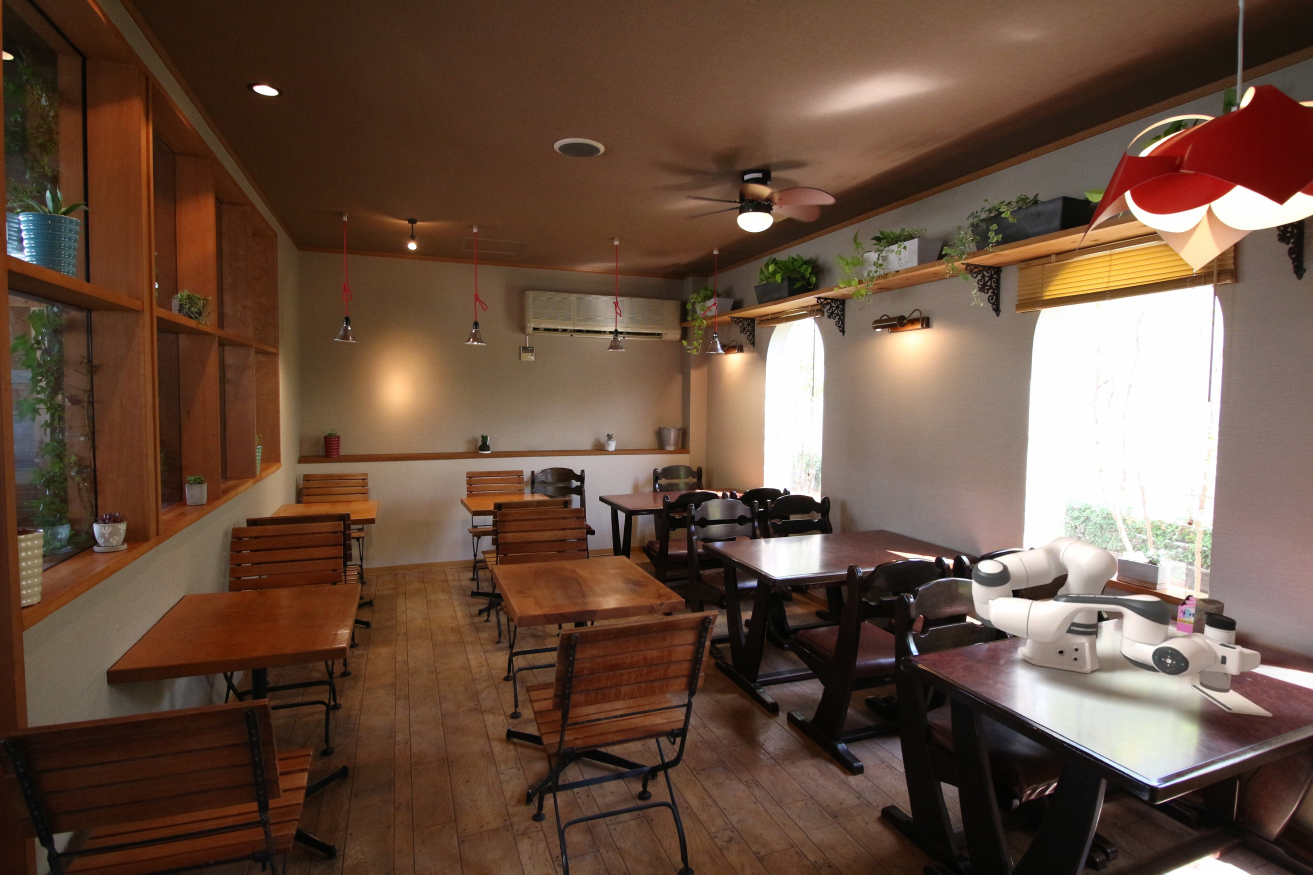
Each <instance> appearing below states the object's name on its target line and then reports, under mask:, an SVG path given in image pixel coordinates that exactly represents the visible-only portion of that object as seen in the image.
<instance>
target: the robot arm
mask: <svg viewBox="0 0 1313 875" xmlns="http://www.w3.org/2000/svg"><path fill="white" fill-rule="evenodd" d="M1116 559H1117V558H1115V556H1114V555H1113V554H1111V553H1110V552H1109V551H1108V550H1107V549H1105V548H1103V547H1101V546H1099V545H1096V544H1093V543H1090V542H1087V541H1084V540H1083V539H1079V538H1076V537H1073V536H1062V537H1061V536H1060V537H1056V538H1054V539H1053V540H1051V541H1050V543H1048V544H1044V545H1043V546H1040V547H1038V548H1037V547H1036V548H1034V549H1033V548H1032V549H1028V550H1023V551H1019V552H1014V553H1009V554H1005V555H1002V556H999V557H995V558H993V559H991V558H990V559H989V558H985V559H982V560H980V561H978V562H976V564H974V565H973V568H972V570H971V595H972V599H973V605H974V613H975V616H976V618H977V620H978V621H979V622H980V623H981V624H983V625H984V626H986V627H988V628H995V629H997V630H1000V631H1002V632H1006V633H1007V634H1008V633H1009V634H1011V635H1014V636H1017V637H1020V638H1023V639H1027V641H1026V644H1025V646H1020V647H1018V649H1017V653H1018V655H1019V656H1020V657H1021V658H1022V659H1023V660H1025V661H1026V662H1028V663H1030V664H1033V665H1035V666H1038V667H1039V666H1040V667H1045V668H1050V669H1051V668H1052V669H1058V670H1062V671H1064V670H1065V671H1071V672H1078V673H1084V674H1090V673H1091V672H1093V671H1097V670H1099V669H1100V663H1099V657H1098V651H1097V650H1098V649H1097V639H1098V635H1099V622H1098V613H1099V612H1100V611H1101V612H1117V613H1121V614H1122V628H1121V635H1120V646H1119V647H1120V650H1119V651H1120V653H1121V655H1122V656H1123V657H1124V659H1125V660H1126V661H1128V662H1129V663H1130V664H1131V665H1133V666H1134V667H1137V668H1139V669H1141V670H1145V671H1148V672H1152V673H1162V674H1165V675H1167V676H1171V677H1187V676H1191V675H1195V674H1197V673H1201V671H1203V670H1204V671H1216V672H1222V673H1227V674H1231V675H1233V676H1239V675H1240V674H1241V672H1250V671H1253V670H1255V669H1257V668H1259V667H1260V665H1261V658H1262V657H1261V653H1260V652H1259V651H1256V650H1252V649H1248V648H1246V647H1242V646H1241V645H1238V644H1235V643H1234V645H1230V644H1227V643H1223V642H1219V641H1217V640H1214V639H1212V638H1210V637H1208V636H1206V635H1204V634H1201V633H1186V632H1182V631H1178V630H1176V629H1174V628H1169V626H1170V624H1171V621H1172V620H1171V619H1172V614H1173V612H1172V610H1171V608H1170V607H1169V605H1168V604H1167V603H1166V602H1165V601H1164V600H1163V599H1162V598H1161V597H1157V596H1154V595H1152V594H1151V595H1150V594H1127V595H1124V594H1123V595H1122V594H1121V595H1120V594H1117V595H1116V594H1102V591H1103V589H1104V587H1105V586H1106V584H1107V582H1108V581H1110V580H1112V579H1113V578H1114V577H1115V575H1116V574H1117V571H1118V562H1117V560H1116ZM1063 575H1067V579H1066V581H1065V583H1064V585H1063V586H1062V587H1060V589H1058V592H1057V595H1055V596H1054V597H1053V598H1052V599H1050V600H1043V601H1042V600H1041V601H1038V600H1032V599H1027V598H1020V597H1013V595H1014V594H1013V592H1012V590H1021V589H1025V588H1031V587H1037V586H1041V585H1047V584H1051V583H1052V582H1053V580H1054V579H1056V578H1058V577H1060V576H1063Z"/></svg>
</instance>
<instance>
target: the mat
mask: <svg viewBox="0 0 1313 875" xmlns="http://www.w3.org/2000/svg"><path fill="white" fill-rule="evenodd" d="M1190 688H1191V689H1193V690H1194V691H1196V692H1197V693H1198V694H1200V695H1201V696H1203V697H1205V698H1206V699H1208V700H1209V701H1211V702H1212V703H1214V704H1215V705H1216V706H1218V707H1220V708H1221V709H1222V710H1224V711H1226V712H1227V713H1233V714H1242V715H1244V714H1245V715H1253V716H1262V717H1273V713H1271V712H1269V711H1267V710H1265V709H1264V708H1262V707H1260V706H1259V705H1257V704H1255V703H1254V702H1253V701H1251V700H1249V699H1247V698H1246V697H1245V696H1243V695H1241V694H1240V693H1238V692H1236V691H1234V690H1233V689H1231V688H1230V692H1227V693H1221V692H1216V691H1212V690H1209V689H1206V688H1204V687H1202V686H1201V685H1200V686H1199V685H1195V684H1190Z"/></svg>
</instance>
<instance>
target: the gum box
mask: <svg viewBox="0 0 1313 875" xmlns="http://www.w3.org/2000/svg"><path fill="white" fill-rule="evenodd" d="M1200 598H1201V599H1202V597H1197V596H1196V597H1195V596H1194V595H1193V594H1188V595H1186V596H1185V598H1184V599H1183V601H1182V602H1180V603H1179V605H1178V609H1177V610H1178V611H1177V618H1176V619H1177V620H1176V629H1175V630H1178V631H1182V632H1186V633H1192V630H1193V622H1194V614H1195V606H1196V600H1198V599H1200Z"/></svg>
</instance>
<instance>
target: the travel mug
mask: <svg viewBox="0 0 1313 875" xmlns="http://www.w3.org/2000/svg"><path fill="white" fill-rule="evenodd" d="M1204 615H1207V617H1206V623H1205V631H1204V635H1206V636H1208V637H1210V638H1212V639H1214V640H1217V641H1219V642H1223V643H1227V644H1230V645H1234V644H1235V641H1236V629H1237V628H1236V627H1237V621H1236V620H1235V619H1234V618H1232V617H1229V616H1227V615H1224V614H1223V615H1221V614H1216V613H1211V612H1207V611H1205V614H1204ZM1199 673H1200V675H1199V685H1200V686H1202V687H1204V688H1206V689H1209V690H1212V691H1216V692H1221V693H1227V692H1230V689H1231V684H1232V683H1231V682H1232V674H1227V673H1222V672H1216V671H1204V670H1203V671H1200V672H1199Z"/></svg>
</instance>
